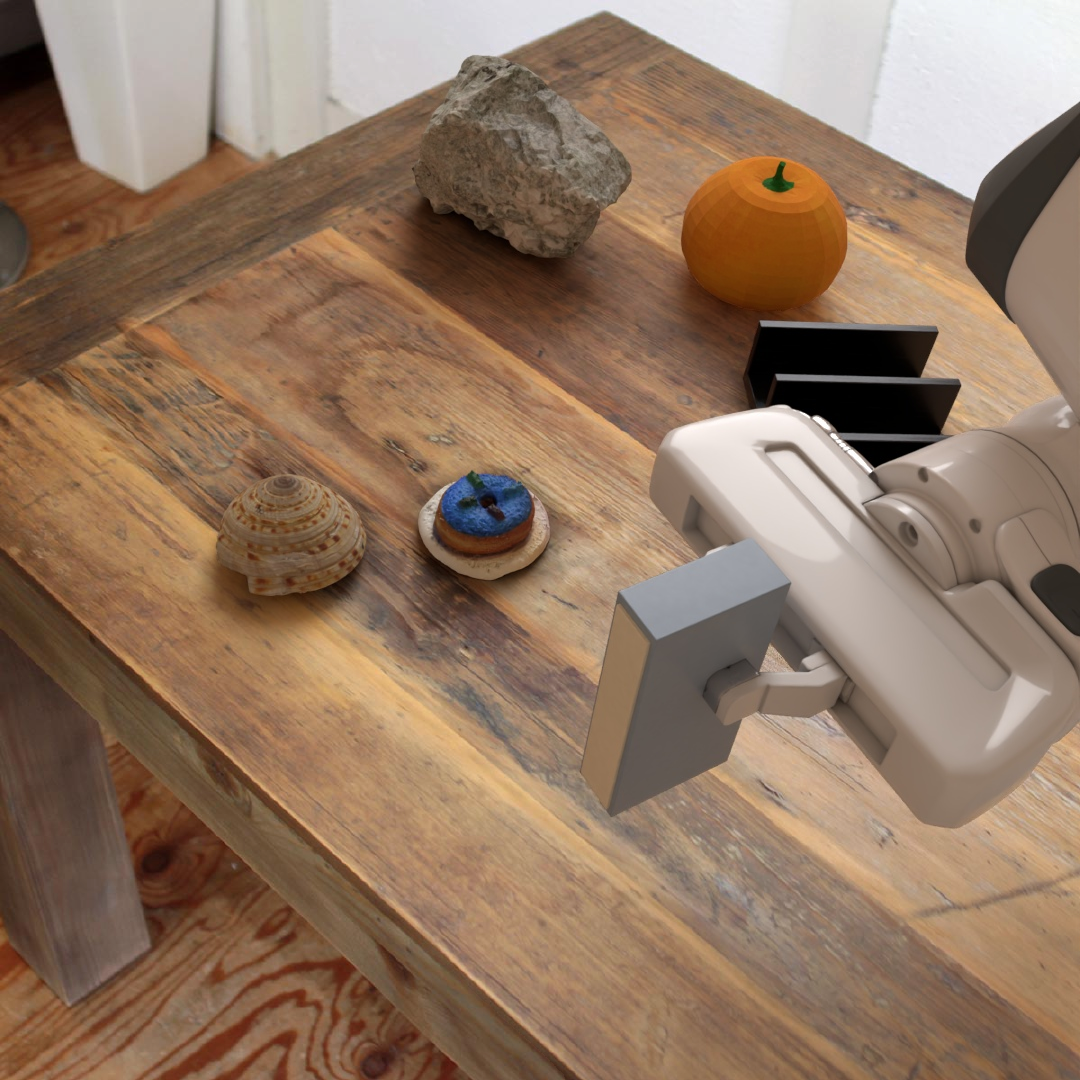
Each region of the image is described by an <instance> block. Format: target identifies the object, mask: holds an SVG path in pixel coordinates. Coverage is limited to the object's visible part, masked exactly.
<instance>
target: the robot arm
mask: <svg viewBox="0 0 1080 1080" xmlns="http://www.w3.org/2000/svg"><path fill="white" fill-rule="evenodd" d="M964 255H965V257H964V259H965V265H966V267H967V268H968V270H969V271H970V272H971V274H972V275H973V276H974V278H976V280H977V281H978V282H979V283H980V285H981V286H982V287H983V288H984V290H985V291H986V293H988V295H989V296H990V298H991V299H992V300H993V301H994V303H995V304H996V305H997V307H998V308H999V309H1000V310H1001V312H1002V313H1003V314H1004V316H1006V318H1007V319H1008V320H1009V321H1010V322H1011V323H1012V324H1014V325H1016V327H1017V328H1018V330H1019V332H1020V333H1021V334H1022V336H1023V338H1024V339H1025V341H1026V342H1027V344H1028V345H1029V347H1030V348H1031V350H1032V351H1033V353H1034V354H1035V356H1036V357H1037V359H1038V361H1039V362H1040V364H1041V365H1042V367H1043V369H1044V370H1045V371H1046V373H1047V375H1048V376H1049V377H1050V379H1051V380H1052V382H1053V383H1054V385H1055V386H1056V388H1057V390H1058V391H1059V392H1060V393H1059V394H1056V395H1055V396H1054V395H1053V396H1050V397H1048V398H1045V399H1044V400H1041V401H1038V402H1035V403H1033V404H1031V405H1029V406H1027V407H1025V408H1022V409H1021V410H1020V411H1018V412H1017V413H1015V414H1014V415H1013V416H1012V417H1010V418H1009V420H1007V421H1006V422H1005V423H1004V424H1003V425H1002V426H983V427H982V426H981V427H976V428H972V429H969V430H964V431H963V432H960V433H957V434H954V435H955V436H952V437H950V438H947V439H945V440H942V441H940V442H937V443H934V444H932V445H929V446H927V447H924V448H922V449H920V450H917V451H915V452H912V453H910V454H907V455H905V456H902V457H900V458H897V459H895V460H892V461H890V462H887V463H885V464H882V465H880V466H878V467H877V468H874V467H873V466H872V465H871V464H870V463H869V462H868V461H867V460H866V459H865V458H864V457H863V456H862V455H861V454H860V453H859V452H857V451H856V450H855V449H854V448H852V447H851V446H850V445H848V444H847V443H846V442H845V441H844V440H843V439H842V438H841V437H840V436H839V435H838V432H837V431H836V429H835V428H834V427H833V426H832V425H831V424H830V423H829V422H828V421H826V420H825V419H824V418H822V417H820V416H818V415H815V416H812V417H810V416H809V415H807V414H805V413H803V412H801V411H798V410H795V409H791V408H790V407H789V406H787V405H775V406H771V407H768V408H760V409H753V410H751V409H748V410H741V411H737V412H732V413H727V414H723V415H717V416H713V417H710V418H705V419H702V420H698V421H694V422H690V423H687V424H685V425H681V426H679V427H675V428H672V430H670V431H668V432H667V433H666V434H665V435H664V436H663V439H662V441H661V443H660V445H659V447H658V449H657V452H656V455H655V458H654V462H653V466H652V470H651V476H650V482H649V488H648V497H649V499H650V500H651V502H652V504H653V505H654V506H655V507H656V509H657V510H658V511H659V512H660V513H661V514H662V516H663V517H664V518H665V520H667V522H668V523H669V524H670V525H671V526H672V528H674V529H675V531H676V532H677V533H678V535H679V536H680V537H681V538H682V539H683V541H684V542H685V543H686V544H687V546H688V547H689V548H690V549H691V550H692V551H693V553H694V554H695V555H696V556H697V558H698V559H699V558H701V557H704V556H706V555H709V554H711V553H714V552H716V551H719V550H721V549H724V548H726V547H728V546H731V545H733V544H736V543H738V542H741V541H743V540H746V539H748V538H751V537H752V538H753V539H754V540H755V541H756V543H757V544H758V545H759V546H760V547H761V548H762V549H763V551H764V552H765V553H766V554H767V555H768V556H769V557H770V558H771V560H772V561H773V562H774V563H775V564H776V565H777V566H778V568H779V569H780V570H781V571H782V572H783V573H784V574H785V576H786V577H787V578H788V579H789V580H790V581H791V586H790V589H789V592H788V594H787V597H786V600H785V603H784V605H783V608H782V611H781V614H780V616H779V619H778V622H777V625H776V627H775V630H774V633H773V636H772V639H771V641H770V644H771V646H772V647H773V649H775V650H776V652H778V654H779V655H780V656H781V658H782V659H783V660H784V661H785V663H786V664H787V665H788V666H789V667H790V668H791V669H792V671H760V672H759V673H758V672H757V670H756V669H755V668H754V667H753V666H752V665H751V664H750V662H749V661H748V660H747V659H746V658H745V659H743V660H740V661H738V662H736V663H734V664H732V665H731V666H730V668H723V669H720V670H718V671H716V672H715V673H714V674H712V675H711V676H710V677H709V678H708V679H707V682H706V685H705V687H706V690H705V691H703V695H702V697H703V699H704V700H705V701H706V703H707V704H708V705H709V707H710V708H711V709H712V711H713V712H714V713H715V715H716V716H717V717H718V719H719V720H720V721H721V722H722V724H723V725H730V724H732V723H734V722H736V721H738V720H741V719H742V720H743V719H744V718H747V717H749V716H751V715H753V714H755V713H758V712H759V714H760V715H770V716H779V717H780V716H781V717H792V718H801V719H802V718H803V719H810V718H812V717H814V716H816V715H818V714H821V713H822V712H825V711H827V712H828V714H829V715H830V716H831V717H832V719H833V720H834V721H835V722H836V723H837V725H838V726H840V728H841V729H842V731H843V732H844V733H845V734H846V736H848V738H849V739H850V740H851V741H852V743H854V745H855V746H856V747H857V748H858V749H859V751H860V752H861V754H863V756H864V757H865V758H866V759H867V760H868V761H869V763H870V764H871V766H872V767H874V769H875V770H876V771H877V772H878V773H879V775H880V776H881V777H882V778H883V779H884V781H885V782H886V783H887V785H888V786H889V787H890V788H891V789H892V790H893V791H894V793H895V794H896V795H897V796H898V797H899V799H900V800H901V801H902V802H903V803H904V805H905V806H906V807H907V809H908V810H909V811H910V812H911V813H912V815H913V816H914V817H915V818H916V819H917V820H918V821H919V822H921V824H924V825H926V826H930V827H938V828H943V829H950V830H956V829H960V828H962V827H964V826H966V825H968V824H970V823H971V822H973V821H975V820H976V819H978V818H979V817H981V816H982V815H984V814H985V813H987V812H988V811H989V810H991V809H993V808H994V807H996V806H997V805H998V804H999V803H1001V802H1002V801H1003V800H1005V799H1006V798H1007V797H1009V796H1010V794H1012V793H1014V791H1016V790H1017V788H1019V787H1020V786H1021V785H1022V784H1023V783H1024V782H1025V781H1026V780H1028V778H1029V777H1030V775H1032V773H1033V772H1034V770H1035V769H1036V767H1037V766H1038V765H1039V763H1040V762H1041V761H1042V759H1043V758H1044V756H1045V755H1046V754H1047V752H1049V750H1050V749H1051V747H1052V745H1054V744H1056V743H1058V742H1060V741H1061V740H1062V739H1064V737H1065V736H1067V735H1068V734H1070V732H1071V731H1072V730H1073V729H1074V728H1075V727H1076V726H1077V725H1078V724H1079V723H1080V101H1078V102H1077V103H1076V104H1074V105H1072V106H1071V107H1070V108H1068V109H1067V110H1066V111H1064V112H1063V113H1061V114H1060V115H1059V116H1058V117H1056V118H1054V119H1053V120H1052V121H1050V122H1049V123H1047V124H1045V125H1043V126H1042V127H1040V128H1039V129H1037V130H1036V131H1035V132H1033V133H1032V134H1030V135H1028V136H1027V137H1026V138H1025V139H1024V140H1022V141H1021V142H1020V143H1018V144H1017V145H1016V146H1015V147H1014V148H1013V149H1012V150H1011V151H1010V152H1008V153H1007V154H1006V155H1005V156H1004V157H1003V158H1002V159H1001V160H999V162H998V163H997V164H996V165H994V166H993V168H992V169H991V170H989V171H988V173H987V174H986V175H985V176H984V178H983V179H982V180H981V182H980V184H979V187H978V189H977V192H976V195H975V199H974V201H973V205H972V209H971V214H970V218H969V223H968V229H967V236H966V246H965V253H964Z"/></svg>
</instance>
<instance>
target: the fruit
mask: <svg viewBox="0 0 1080 1080" xmlns="http://www.w3.org/2000/svg"><path fill="white" fill-rule="evenodd" d="M847 221H848V220H847V218H846V213H845V211H844V209H843V207H842V205H841V203H840V201H839V199H838V198H837V196H836V193H835V192H834V191H833V188H831V186H830V185H829V184H828V183H827V181H825V180H824V179H823V178H822V177H821V176H820V175H819V174H818V173H817V172H816V171H814V170H813V169H811V168H810V167H808V166H806V165H804V164H802V163H800V162H797V161H795V160H791V159H789V158H784V157H778V156H772V155H769V156H768V155H764V156H763V155H761V156H759V155H758V156H752V157H748V158H743V159H741V160H737V161H735V162H733V163H730V164H729V165H727V166H726V167H724V168H721V169H720V170H718V171H716V172H714V173H713V174H712V175H711V176H709V177H707V179H705V181H704V182H703V183H702V184H701V186H699V188H698V189H697V190H696V191H695V193H694V194H693V195H692V197H691V198H690V200H689V202H688V204H687V205H686V208H685V211H684V214H683V219H682V227H681V235H680V247H681V252H682V255H683V257H684V260H685V262H686V265H687V267H688V270H689V272H690V274H691V275H692V277H693V278H694V279H695V280H696V282H698V283H699V284H700V285H701V287H702V288H703V289H704V291H706V292H708V293H709V294H711V295H712V296H714V297H715V298H717V299H719V300H720V301H722V302H725V303H726V304H730V305H732V306H735V307H737V308H741V309H744V310H748V311H749V310H750V311H757V312H762V313H770V312H771V313H772V312H773V313H774V312H786V311H788V310H793V309H797V308H800V307H802V306H806V305H807V304H809V303H811V302H812V301H813V300H815V299H817V298H818V297H820V296H821V295H822V294H824V293H825V292H826V291H827V290H828V289H829V288H830V286H831V285H832V284H833V282H834V281H835V279H836V277H837V276H838V274H839V272H840V271H841V269H842V267H843V264H844V262H845V260H846V256H847V253H848V222H847Z"/></svg>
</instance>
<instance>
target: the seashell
mask: <svg viewBox="0 0 1080 1080" xmlns="http://www.w3.org/2000/svg"><path fill="white" fill-rule="evenodd" d="M219 529H220V530H219V532H218V533H217V535H216V543H215V549H216V561H217V562H218V564H219V565H220V566H221V567H225V568H226V569H228V570H231V571H234V572H237V573H238V574H241V575H243V576H245V577H246V580H247V586H248V592H249V593H250V594H252V595H259V596H266V597H267V596H270V597H273V596H274V597H275V596H285V595H291V594H292V593H299V594H302V593H303V594H305V593H307V592H314V591H317V590H320V589H325V588H326V587H329V586H330V585H332V584H335V583H337V582H339V581H341V580H342V579H343V578H344V577H346V576H347V575H349V574H350V573H351V572H352V571H353V570H354V569H355V568H356V567H357V566H358V565H359V563H360V562H361V560H362V559H363V557H364V554H365V552H366V549H367V543H368V542H367V540H368V539H367V537H368V536H367V533H366V529H365V526H364V524H363V521H362V518H361V517H360V515H359V513H358V512H357V510H356V509H355V507H354V506H353V505H352V504H351V503H350V502H349V501H348V500H347V499H345V497H343V496H342V495H340V494H339V493H338V492H337V491H334V490H333V489H331V488H329V487H327V486H325V485H324V484H321V483H320V482H317V481H315V480H313V479H311V478H309V477H306V476H302V475H298V474H292V473H287V474H285V473H284V474H277V475H272V476H268V477H266V478H264V479H261V480H258V481H256V482H255V483H253V484H251V485H250V486H248V487H247V488H245V489H244V490H243V491H241V492H240V493H239V494H238V495H236V497H234V498H233V499H232V501H231V502H230V503H229V504H228V506H227V507H226V508H225V510H224V513H223V516H222V519H221V522H220V528H219Z"/></svg>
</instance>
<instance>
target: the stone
mask: <svg viewBox="0 0 1080 1080" xmlns="http://www.w3.org/2000/svg"><path fill="white" fill-rule="evenodd" d="M419 139H420V140H419V144H418V147H419V149H420V150H419V151H418V153H419V157H418V159H417V160H416V163H415V164H414V166H413V167H412V168H411V171H412V172H413V175H414V182H415V185H416V187H417V191H418V193H419V194H420V195H421V196H422V197H424V198H426V199H428V200H429V202H430V206H431V207H432V211H433V213H435V214H437V215H445V214H446V215H447V214H450V213H451V212H453V211H454V212H455V213H456V214H458V215H461V214H462V215H464V216H465V217H466V218H468V219H470V220H472V221H473V224H474V226H475V227H476V229H478V230H479V231H484V230H487V231H488V232H489V233H490V234H492V235H493V236H496V237H500V238H502V239H505V240H507V241H509V244H510V245H511V247H513V248H514V249H515V250H517V252H518V251H519V252H520V253H522V254H524V255H528V254H529V255H532V256H535V257H538V258H546V259H550V258H551V259H552V258H573V257H574V256H575V253H576V250H577V249H578V248H579V246H580V245H581V244H584V243H586V242H587V241H588V240H589V239H590V238H591V236H592V235H593V234H594V232H595V229H596V226H597V224H598V220H599V219H600V218H601V212H603V211H604V210H606V209H608V207H609V206H611V205H614V204H617V202H618V199H619V198H620V197H621V196H622V195H623V194H624V193H625V192H626V191H627V188H629V186H630V185H631V184H630V183H631V182H632V180H633V179H632V178H633V173H632V172H633V171H632V165H631V163H630V162H629V161H628V160H627V158H626V157H625V155H624V153H623V152H622V151H621V150H620V149H618V147H616V145H615V144H614V143H613V141H611V140H610V138H609V137H608V136H607V134H605V132H604V131H603V130H602V128H600V127H599V126H598V125H597V124H595V123H594V122H593V121H591V120H590V119H588V117H586V116H585V115H583V114H582V113H581V112H580V111H579V110H578V109H577V108H575V106H574V105H573V104H572V103H571V102H570V101H569V100H568V99H566V98H564V97H562V96H560V95H559V94H558V93H557V92H556V91H555V90H553V89H551V87H550V86H548V84H547V83H546V82H545V81H544V80H543V79H542V78H541V76H540V75H538V74H536V73H535V72H534V71H532V70H531V69H529V68H527V67H526V66H524V65H521V64H519V63H518V62H512V61H510V60H507V59H506V58H503V57H500V56H494V55H481V54H472V55H470V56H468V57H466V58H465V59H464V60H463V61H462V62H461V65H460V69H459V70H458V73H457V74H456V76H455V78H454V80H453V82H452V83H451V84H450V87H449V89H448V91H447V93H446V95H445V99H444V101H443V103H442V104H441V105H440V106H438V107H437V108H436V109H435V110H434V111H433V112H432V114H431V116H430V119H429V122H428V124H427V126H426V128H425V130H424V132H423V133H422V134H420V138H419Z"/></svg>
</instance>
